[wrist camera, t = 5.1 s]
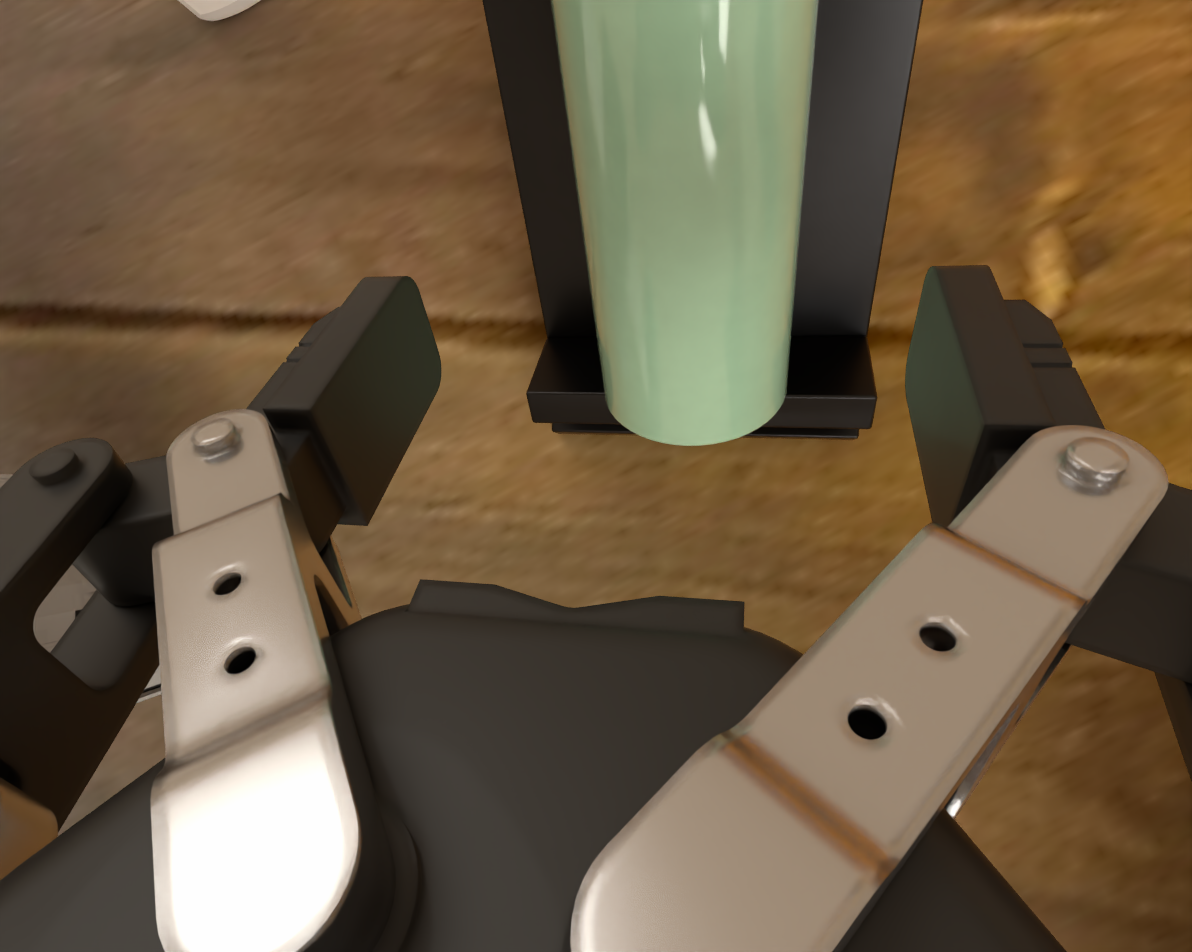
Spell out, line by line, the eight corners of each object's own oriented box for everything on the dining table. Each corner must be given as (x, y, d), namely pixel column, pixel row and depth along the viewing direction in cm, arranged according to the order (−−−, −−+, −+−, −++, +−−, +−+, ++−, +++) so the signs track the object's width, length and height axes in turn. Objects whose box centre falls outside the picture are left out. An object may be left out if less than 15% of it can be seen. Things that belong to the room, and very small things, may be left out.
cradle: (855, 440, 24) (1003, 382, 10) (556, 433, 26) (351, 377, 12) (871, -51, 24) (1038, -751, 10) (572, -19, 26) (386, -571, 12)
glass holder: (149, 427, 29) (-468, 369, 14) (451, 593, 26) (80, 732, 12) (67, 622, 30) (-602, 760, 15) (354, 802, 27) (-113, 1186, 12)
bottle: (781, 454, 22) (848, 403, 8) (614, 449, 23) (414, 397, 9) (797, -16, 22) (891, -886, 8) (629, 0, 23) (454, -746, 9)
